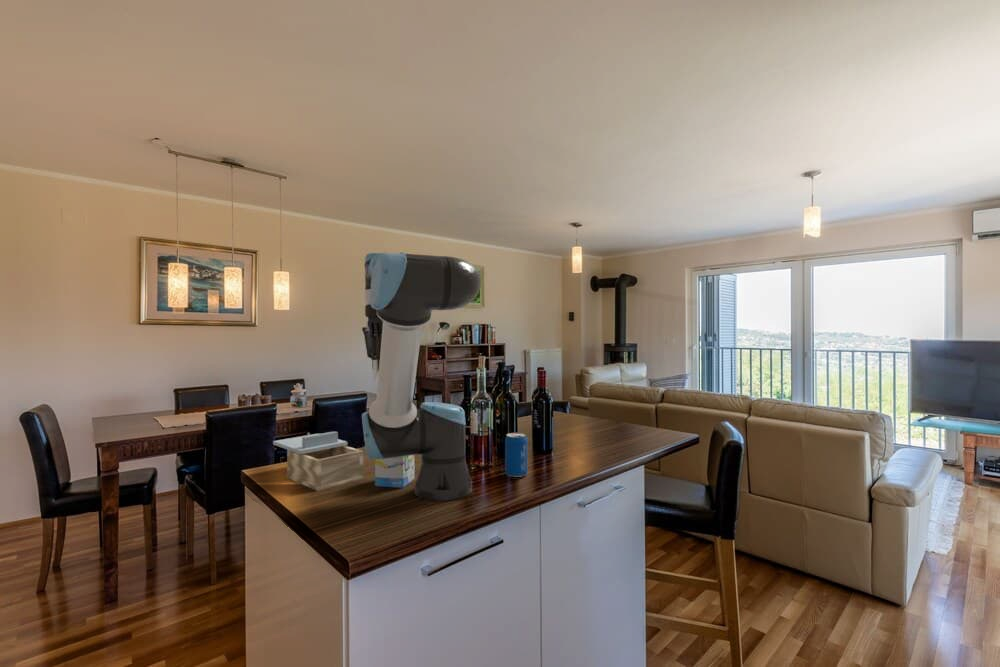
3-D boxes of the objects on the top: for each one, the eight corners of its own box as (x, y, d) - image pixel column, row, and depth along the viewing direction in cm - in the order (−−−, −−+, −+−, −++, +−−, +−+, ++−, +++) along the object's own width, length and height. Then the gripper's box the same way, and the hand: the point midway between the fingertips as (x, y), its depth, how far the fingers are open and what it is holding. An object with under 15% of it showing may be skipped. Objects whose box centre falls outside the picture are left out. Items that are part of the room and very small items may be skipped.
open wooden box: (363, 478, 132) (363, 450, 132) (316, 490, 122) (316, 461, 122) (332, 467, 144) (332, 441, 144) (287, 477, 134) (287, 450, 134)
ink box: (403, 488, 124) (403, 445, 124) (374, 486, 125) (374, 444, 125) (415, 478, 132) (415, 438, 132) (388, 477, 134) (387, 437, 134)
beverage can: (515, 480, 130) (515, 438, 130) (500, 475, 135) (500, 434, 135) (531, 475, 134) (531, 434, 134) (516, 470, 139) (516, 431, 139)
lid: (347, 445, 139) (347, 431, 139) (300, 454, 128) (300, 440, 128) (318, 436, 151) (318, 424, 151) (273, 444, 140) (273, 431, 140)
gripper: (401, 303, 139) (401, 381, 139) (374, 306, 147) (375, 379, 147) (381, 302, 133) (381, 383, 133) (354, 304, 141) (355, 381, 141)
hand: (378, 381), depth 140 cm, fingers closed
